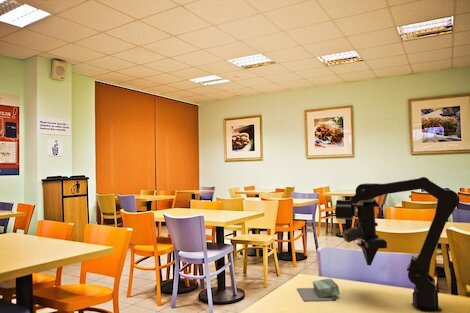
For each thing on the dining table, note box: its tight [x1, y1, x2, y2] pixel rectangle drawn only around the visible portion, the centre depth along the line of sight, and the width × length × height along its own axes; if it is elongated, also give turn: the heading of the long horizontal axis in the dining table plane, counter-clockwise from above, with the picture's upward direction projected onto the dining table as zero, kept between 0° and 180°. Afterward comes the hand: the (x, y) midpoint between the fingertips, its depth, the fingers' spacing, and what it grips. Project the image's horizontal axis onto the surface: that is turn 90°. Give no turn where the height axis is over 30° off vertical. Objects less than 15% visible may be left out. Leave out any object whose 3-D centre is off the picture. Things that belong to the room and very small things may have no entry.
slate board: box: [296, 287, 337, 302], centre depth 133 cm, size 11×14×1 cm
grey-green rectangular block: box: [312, 278, 341, 298], centre depth 133 cm, size 3×10×7 cm
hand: (368, 265), depth 127 cm, fingers closed
